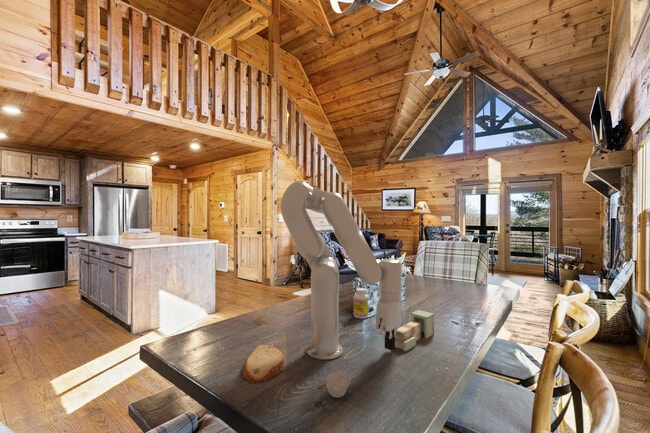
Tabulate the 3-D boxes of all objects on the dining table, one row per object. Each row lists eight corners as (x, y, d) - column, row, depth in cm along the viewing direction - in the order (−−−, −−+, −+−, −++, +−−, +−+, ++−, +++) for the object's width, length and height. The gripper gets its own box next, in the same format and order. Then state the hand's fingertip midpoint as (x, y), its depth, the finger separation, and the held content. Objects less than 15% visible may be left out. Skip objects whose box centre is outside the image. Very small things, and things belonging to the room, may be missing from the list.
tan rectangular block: (402, 349, 110) (402, 332, 110) (393, 346, 112) (394, 330, 112) (420, 338, 120) (420, 323, 120) (412, 335, 122) (412, 320, 122)
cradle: (405, 351, 108) (405, 342, 108) (388, 345, 113) (388, 336, 113) (415, 345, 113) (415, 337, 113) (398, 339, 118) (398, 331, 118)
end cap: (426, 338, 119) (427, 317, 119) (410, 333, 124) (411, 313, 124) (433, 334, 124) (434, 313, 124) (418, 329, 128) (418, 309, 128)
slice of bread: (267, 348, 111) (267, 337, 110) (302, 364, 99) (302, 353, 99) (221, 366, 97) (221, 354, 97) (255, 388, 85) (256, 374, 85)
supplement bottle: (351, 317, 143) (351, 289, 142) (356, 313, 148) (357, 286, 148) (365, 320, 139) (365, 291, 139) (370, 315, 145) (370, 288, 145)
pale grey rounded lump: (347, 406, 77) (347, 378, 77) (321, 399, 79) (321, 372, 79) (354, 393, 83) (354, 367, 82) (329, 387, 85) (330, 362, 85)
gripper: (392, 290, 115) (392, 339, 115) (368, 297, 104) (367, 351, 104) (410, 293, 109) (410, 345, 110) (387, 302, 99) (386, 359, 99)
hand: (389, 348), depth 107 cm, fingers closed
